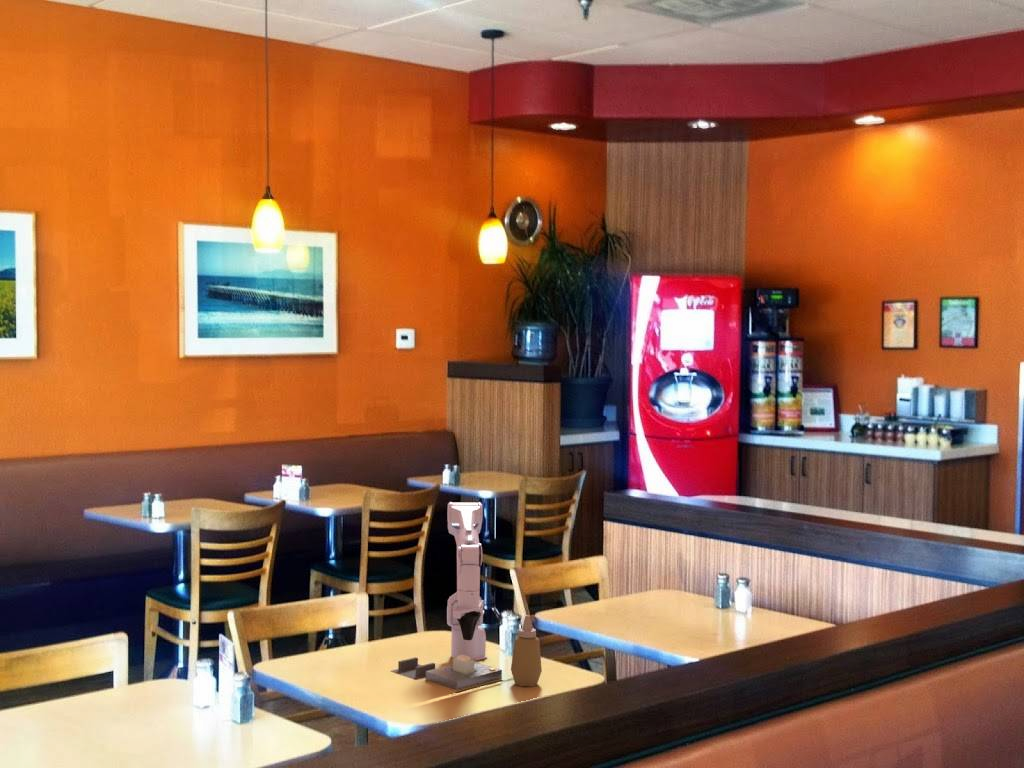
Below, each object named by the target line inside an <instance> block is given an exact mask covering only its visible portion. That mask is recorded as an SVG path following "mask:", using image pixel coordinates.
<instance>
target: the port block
mask: <svg viewBox="0 0 1024 768" xmlns="http://www.w3.org/2000/svg"><path fill="white" fill-rule="evenodd" d="M502 677H503V670H502V669H500V668H497V667H493V666H492V665H487V664H484V663H480V662H477V661H476V660H474V673H471V674H467V675H466V674H463V673H460V672H456V671H453V664H450V665H446V666H441V667H438V668H437V667H436V668H435V669H433V670H429V671H426V677H425V681H428V682H432V683H433V684H438V685H440V686H443V687H446V688H450V689H452V690H456V691H455V692H454V693H456V694H460V693H462V692H463V693H464V692H466V691H470V690H475V689H478V688H481V687H485V686H488V685H492V684H496V683H499V682H502V681H503V680H502ZM488 682H489V683H488ZM477 685H478V686H477Z"/></svg>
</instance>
